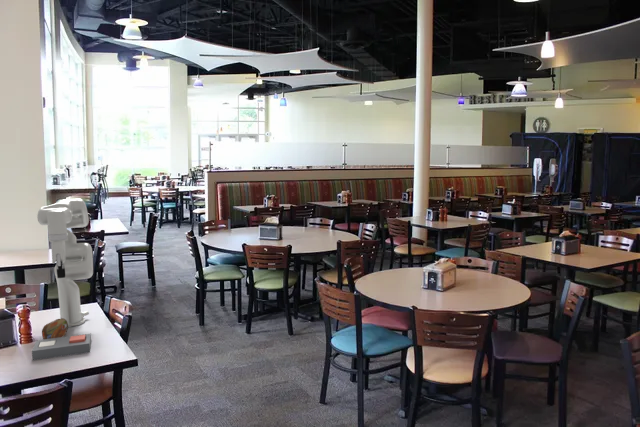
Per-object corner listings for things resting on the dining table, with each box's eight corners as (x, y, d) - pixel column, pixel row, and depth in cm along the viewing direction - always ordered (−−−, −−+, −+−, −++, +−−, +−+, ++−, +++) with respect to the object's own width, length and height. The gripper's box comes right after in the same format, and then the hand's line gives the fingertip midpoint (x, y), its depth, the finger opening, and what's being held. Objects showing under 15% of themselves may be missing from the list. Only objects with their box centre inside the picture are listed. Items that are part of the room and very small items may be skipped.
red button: (86, 343, 242) (85, 334, 241) (85, 347, 236) (84, 338, 236) (71, 345, 240) (70, 336, 239) (70, 349, 234) (69, 340, 234)
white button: (56, 349, 238) (55, 340, 237) (54, 353, 232) (54, 344, 232) (41, 351, 236) (40, 342, 235) (39, 356, 230) (38, 346, 230)
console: (91, 341, 246) (91, 333, 246) (90, 352, 233) (89, 343, 233) (37, 349, 239) (36, 340, 238) (32, 360, 226) (31, 351, 225)
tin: (47, 344, 244) (45, 326, 243) (41, 344, 245) (39, 326, 244) (69, 333, 259) (67, 316, 258) (63, 333, 260) (61, 315, 259)
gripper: (50, 235, 251) (54, 274, 253) (46, 240, 237) (50, 282, 239) (68, 234, 253) (71, 273, 255) (65, 239, 239) (69, 280, 241)
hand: (61, 277), depth 247 cm, fingers closed
